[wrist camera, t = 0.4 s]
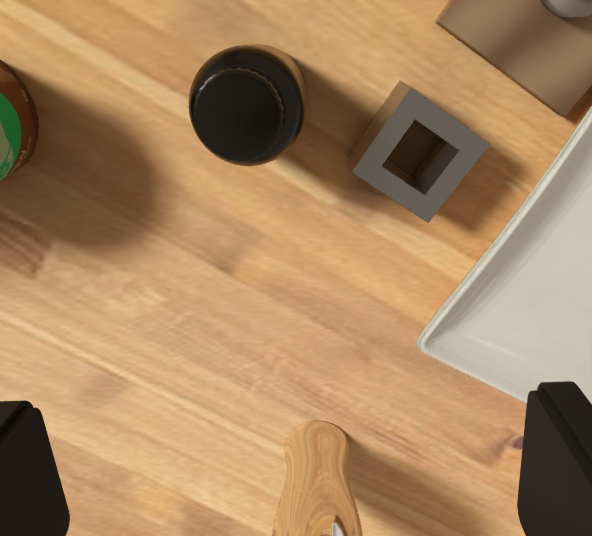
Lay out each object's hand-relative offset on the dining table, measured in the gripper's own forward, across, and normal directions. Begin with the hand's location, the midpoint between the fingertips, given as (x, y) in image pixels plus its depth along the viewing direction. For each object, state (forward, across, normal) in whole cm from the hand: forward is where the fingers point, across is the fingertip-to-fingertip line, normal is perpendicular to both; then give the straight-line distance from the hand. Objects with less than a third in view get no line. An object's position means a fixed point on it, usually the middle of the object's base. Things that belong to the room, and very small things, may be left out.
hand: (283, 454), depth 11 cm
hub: (+33, -7, 0) cm, 34 cm away
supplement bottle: (+33, +3, -4) cm, 34 cm away
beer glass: (+34, +1, +28) cm, 44 cm away
